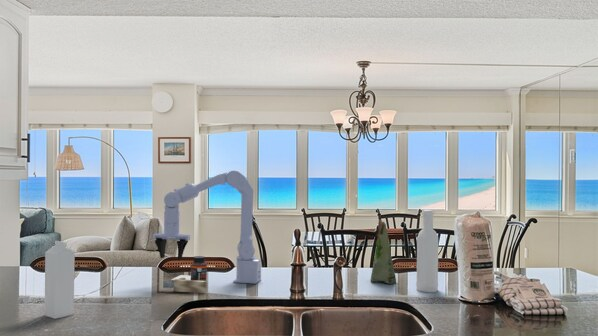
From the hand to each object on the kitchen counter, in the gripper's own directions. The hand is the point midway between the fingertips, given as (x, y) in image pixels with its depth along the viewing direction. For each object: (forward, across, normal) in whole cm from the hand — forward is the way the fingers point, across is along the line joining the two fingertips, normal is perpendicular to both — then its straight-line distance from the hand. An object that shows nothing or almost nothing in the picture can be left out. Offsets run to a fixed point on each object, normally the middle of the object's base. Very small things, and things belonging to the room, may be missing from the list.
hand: (171, 258), depth 201 cm
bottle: (+10, +97, +13) cm, 98 cm away
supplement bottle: (+10, +13, -4) cm, 17 cm away
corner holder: (+9, +13, -10) cm, 19 cm away
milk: (+10, -13, -49) cm, 52 cm away
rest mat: (+9, +3, +8) cm, 13 cm away
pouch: (+10, +80, +23) cm, 84 cm away
